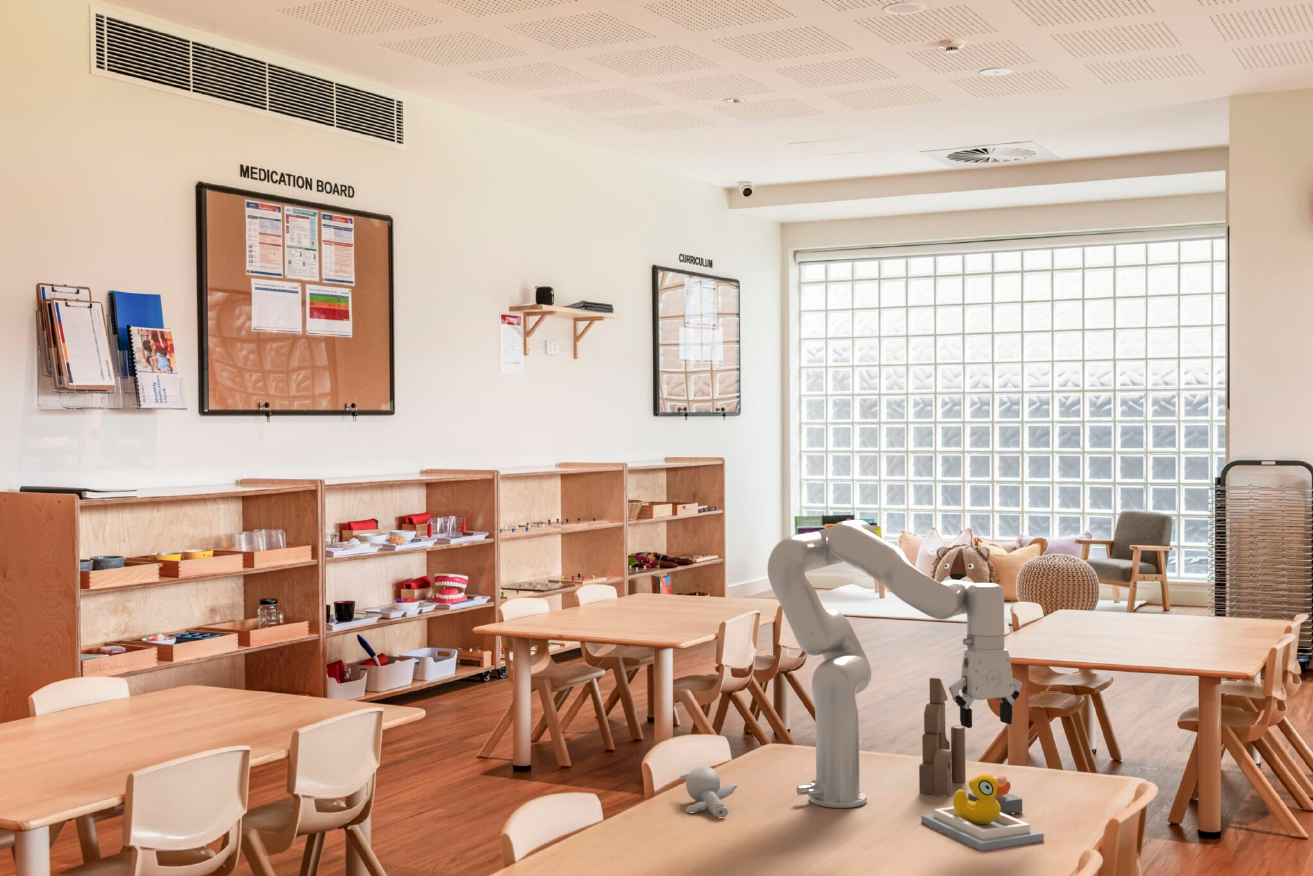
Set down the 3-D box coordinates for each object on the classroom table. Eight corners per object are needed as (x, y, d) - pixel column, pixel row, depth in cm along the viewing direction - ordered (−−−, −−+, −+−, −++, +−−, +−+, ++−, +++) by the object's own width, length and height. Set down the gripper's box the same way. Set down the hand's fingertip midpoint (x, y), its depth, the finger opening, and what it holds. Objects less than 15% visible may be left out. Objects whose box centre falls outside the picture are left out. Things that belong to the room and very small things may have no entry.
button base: (991, 817, 260) (991, 803, 261) (968, 807, 268) (968, 793, 268) (1022, 813, 264) (1022, 798, 264) (998, 803, 271) (998, 789, 271)
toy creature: (689, 807, 259) (662, 769, 278) (699, 837, 261) (672, 798, 280) (744, 783, 262) (713, 747, 281) (753, 813, 263) (722, 775, 282)
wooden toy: (948, 797, 276) (947, 685, 276) (919, 793, 280) (917, 682, 280) (967, 780, 290) (965, 674, 290) (939, 777, 293) (937, 671, 293)
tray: (981, 851, 239) (981, 835, 239) (921, 822, 257) (921, 808, 257) (1043, 841, 245) (1043, 825, 245) (980, 814, 263) (980, 799, 263)
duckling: (1012, 822, 252) (1011, 773, 252) (1010, 830, 247) (1009, 779, 247) (955, 817, 256) (954, 768, 256) (952, 824, 251) (951, 775, 251)
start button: (992, 795, 262) (992, 781, 263) (978, 789, 267) (977, 775, 267) (1011, 792, 264) (1011, 778, 264) (997, 787, 269) (996, 773, 269)
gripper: (960, 647, 251) (960, 732, 251) (1031, 643, 257) (1032, 725, 257) (940, 642, 258) (940, 724, 258) (1009, 637, 264) (1010, 718, 264)
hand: (986, 724), depth 258 cm, fingers open, 9 cm apart
